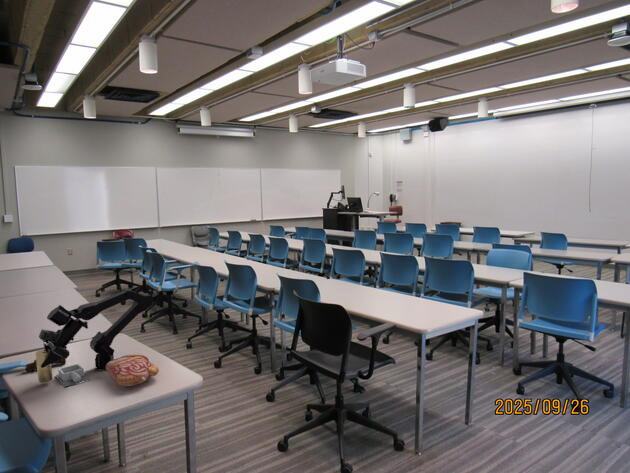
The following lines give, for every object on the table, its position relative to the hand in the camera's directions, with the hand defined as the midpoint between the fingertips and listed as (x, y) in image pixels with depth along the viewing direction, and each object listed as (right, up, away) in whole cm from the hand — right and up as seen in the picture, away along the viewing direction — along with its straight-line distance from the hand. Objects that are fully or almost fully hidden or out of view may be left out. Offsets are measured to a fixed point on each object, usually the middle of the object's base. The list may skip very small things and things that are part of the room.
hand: (40, 365), depth 171 cm
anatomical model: (+34, -7, +7) cm, 35 cm away
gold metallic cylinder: (+1, -6, +2) cm, 7 cm away
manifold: (+9, -7, +7) cm, 14 cm away
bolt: (-9, -7, +19) cm, 22 cm away
